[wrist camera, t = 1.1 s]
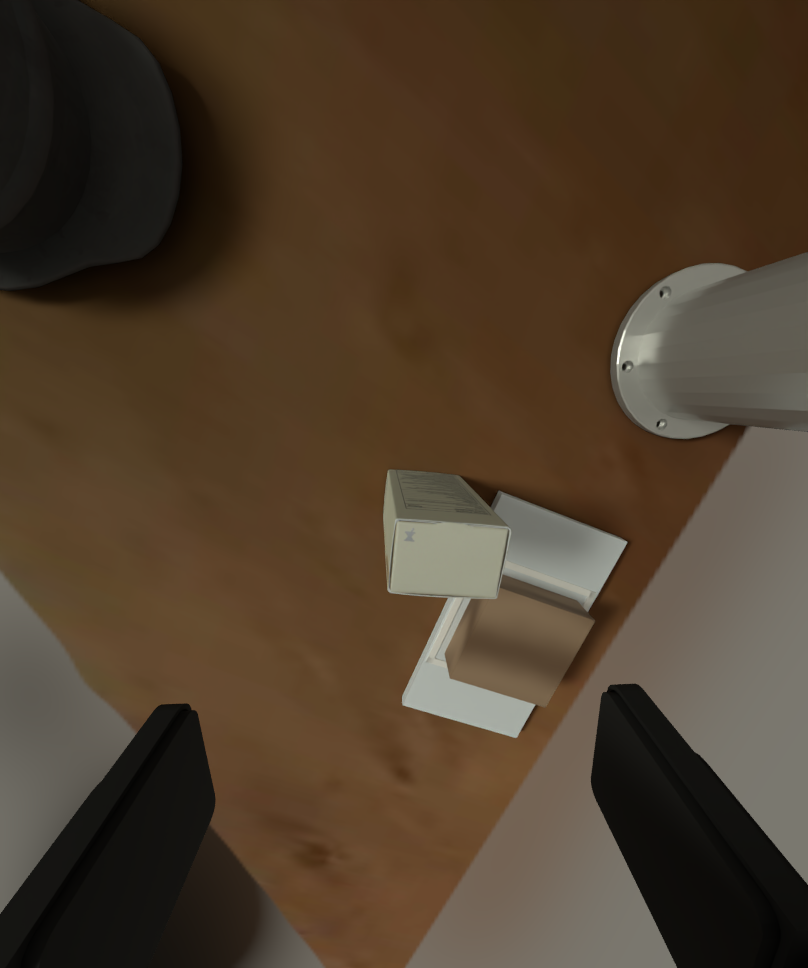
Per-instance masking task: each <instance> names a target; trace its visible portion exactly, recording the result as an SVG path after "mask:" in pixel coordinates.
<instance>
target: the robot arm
mask: <svg viewBox="0 0 808 968" xmlns="http://www.w3.org/2000/svg"><path fill="white" fill-rule="evenodd" d="M622 365H623V369H622ZM610 374H611V380H612V387H613V390H614V393H615V396H616V399H617V402H618V403H619V405H620V407H621V408H622V410H623V412H624V413H625V414H626V416H627V417H628V418H629V419H630V420H631V421H632V422H633V423H634V424H636V425H637V426H639V427H640V428H642V429H643V430H645V431H647V432H650V433H652V434H655V435H658V436H663V437H668V438H675V439H690V438H697V437H702V436H705V435H708V434H711V433H714V432H717V431H719V430H720V429H722V428H724V427H726V426H728V425H730V424H735V425H745V426H755V427H765V428H775V429H785V430H795V431H805V432H808V252H806V253H803V254H800V255H797V256H794V257H791V258H788V259H785V260H782V261H779V262H776V263H773V264H770V265H767V266H763V267H760V268H757V269H754V270H751V271H748V272H747V271H745V270H743V269H741V268H738V267H736V266H733V265H727V264H722V263H708V264H700V265H696V266H692V267H688V268H685V269H683V270H680V271H678V272H675V273H673V274H671V275H669V276H667V277H665V278H664V279H662V280H660V281H659V282H657V283H655V284H654V285H653V286H652V287H650V288H649V289H648V290H647V291H646V292H645V293H643V294H642V295H641V296H640V298H639V299H638V300H637V301H636V302H635V304H634V305H633V306H632V307H631V308H630V310H629V311H628V313H627V315H626V316H625V318H624V320H623V321H622V323H621V325H620V328H619V330H618V333H617V335H616V338H615V340H614V345H613V350H612V354H611V370H610ZM591 785H592V790H593V793H594V796H595V799H596V801H597V803H598V805H599V807H600V809H601V811H602V813H603V815H604V818H605V820H606V822H607V824H608V826H609V828H610V830H611V832H612V834H613V836H614V838H615V840H616V842H617V844H618V846H619V849H620V851H621V852H622V855H623V856H624V859H625V861H626V863H627V865H628V867H629V869H630V871H631V873H632V875H633V877H634V879H635V881H636V884H637V886H638V888H639V890H640V892H641V894H642V896H643V898H644V900H645V902H646V904H647V906H648V908H649V910H650V912H651V914H652V916H653V919H654V921H655V922H656V925H657V927H658V929H659V931H660V933H661V935H662V937H663V939H664V941H665V943H666V945H667V948H668V949H669V952H670V954H671V956H672V958H673V960H674V962H675V964H676V966H677V968H808V885H807V883H806V882H805V881H804V880H803V879H802V877H801V876H800V875H799V874H798V873H797V871H796V870H795V869H794V868H793V867H792V865H791V864H790V863H789V862H788V860H787V859H786V858H785V857H784V856H783V855H782V853H781V852H780V851H779V850H778V848H777V847H776V846H775V845H774V843H773V842H772V841H771V840H770V839H769V838H768V836H767V835H766V834H765V833H764V831H763V830H762V829H761V828H760V827H759V825H758V824H757V823H756V822H755V821H754V819H753V818H752V817H751V816H750V814H749V813H748V812H747V811H746V810H745V808H744V807H743V806H742V805H741V804H740V802H739V801H738V800H737V799H736V797H735V796H734V795H733V794H732V793H731V791H730V790H729V789H728V788H727V787H726V785H725V784H724V783H723V782H722V781H721V779H720V778H719V777H718V776H717V774H716V773H715V772H714V771H713V770H712V769H711V767H710V766H709V765H708V764H707V763H706V762H705V761H704V759H703V758H701V756H700V755H698V754H697V753H695V752H694V751H693V750H692V749H691V747H690V746H689V745H688V744H687V743H686V742H685V740H684V739H683V738H682V736H681V735H680V734H679V733H678V732H677V730H676V729H675V728H674V727H673V726H672V724H671V723H670V722H669V721H668V720H667V718H666V717H665V716H664V714H663V713H662V712H661V711H660V710H659V708H658V707H657V706H656V705H655V703H654V702H653V701H652V700H651V698H650V697H649V696H648V695H647V694H646V692H645V691H644V690H643V689H642V688H641V687H640V686H639V685H637V684H622V685H621V684H618V685H610V686H609V687H608V690H607V692H603V693H602V696H601V704H600V711H599V719H598V727H597V735H596V742H595V750H594V758H593V766H592V774H591ZM214 808H215V793H214V788H213V783H212V779H211V774H210V769H209V765H208V760H207V755H206V751H205V746H204V741H203V737H202V732H201V727H200V723H199V718H198V714H197V712H196V711H195V710H191V707H190V705H189V704H164V705H160V706H158V707H157V708H156V709H155V710H154V711H153V713H152V714H151V715H150V717H149V718H148V719H147V721H146V722H145V723H144V725H143V726H142V727H141V729H140V730H139V731H138V733H137V734H136V735H135V737H134V738H133V740H132V741H131V742H130V744H129V745H128V746H127V748H126V749H125V750H124V752H123V753H122V754H121V756H120V757H119V758H118V760H117V761H116V763H115V764H114V765H113V766H112V768H111V769H110V771H109V772H108V773H107V775H106V776H105V778H104V779H103V780H102V781H101V782H100V783H99V784H98V785H97V786H96V787H95V789H94V790H93V791H92V792H91V793H90V795H89V796H88V797H87V799H86V800H85V801H84V803H83V804H82V805H81V807H80V808H79V809H78V811H77V812H76V814H75V815H74V816H73V817H72V819H71V820H70V821H69V823H68V824H67V825H66V827H65V828H64V829H63V831H62V832H61V833H60V835H59V836H58V837H57V839H56V840H55V842H54V843H53V844H52V846H51V847H50V848H49V850H48V851H47V852H46V853H45V855H44V856H43V858H42V859H41V860H40V862H39V863H38V864H37V866H36V867H35V868H34V870H33V871H32V872H31V874H30V875H29V876H28V878H27V879H26V880H25V882H24V883H23V884H22V886H21V887H20V888H19V890H18V891H17V893H16V894H15V895H14V896H13V898H12V899H11V900H10V902H9V903H8V904H7V906H6V907H5V908H4V910H3V911H2V912H1V914H0V968H148V967H149V965H150V962H151V960H152V957H153V955H154V953H155V950H156V948H157V946H158V943H159V941H160V938H161V936H162V934H163V931H164V929H165V927H166V924H167V922H168V920H169V917H170V915H171V913H172V910H173V908H174V906H175V903H176V900H177V898H178V896H179V894H180V891H181V889H182V887H183V884H184V882H185V880H186V877H187V875H188V872H189V870H190V868H191V866H192V863H193V861H194V858H195V856H196V854H197V851H198V849H199V847H200V844H201V842H202V840H203V837H204V835H205V833H206V830H207V828H208V825H209V823H210V821H211V818H212V815H213V812H214Z"/></svg>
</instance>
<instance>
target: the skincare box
mask: <svg viewBox="0 0 808 968" xmlns="http://www.w3.org/2000/svg"><path fill="white" fill-rule="evenodd" d="M383 519H384V538H385V557H386V572H387V587H388V591H389V592H390V593H396V594H404V595H415V596H429V597H447V598H472V599H496V598H497V597H498V592H499V587H500V584H501V580H502V575H503V571H504V567H505V562H506V557H507V553H508V548H509V543H510V538H511V533H512V530H511V528H510V527H509V526H508V525H507V524H506V523H505V522H504V521H503V520H502V519H501V518H500V517H499V516H498V515H497V514H496V513H495V512H494V511H493V510H492V509H491V508H490V507H489V506H488V504H487V503H486V502H485V501H484V500H483V499H482V498H481V497H480V496H479V495H478V494H477V493H476V492H475V491H474V490H473V489H472V488H471V487H470V486H469V485H468V484H467V483H466V482H465V481H464V480H463V479H462V478H461V477H460V476H458V475H451V474H442V473H433V472H421V471H408V470H388V474H387V481H386V489H385V499H384V513H383Z"/></svg>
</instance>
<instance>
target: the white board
mask: <svg viewBox="0 0 808 968" xmlns="http://www.w3.org/2000/svg"><path fill="white" fill-rule="evenodd" d="M491 509H492V510H493V511H494V512H495V513H496V514H497V515H498V516H499V517H500V518H501V519H502V520H503V521H504V522H505V523H506V524H507V525H508V526H509V527H510V528H511V530H512V533H511V538H510V543H509V548H508V553H507V557H506V562H505V567H504V571H503V575H506V576H509V577H512V578H515V579H517V580H520V581H523V582H526V583H529V584H532V585H534V586H537V587H540V588H543V589H546V590H549V591H551V592H554V593H557V594H560V595H563V596H566V597H568V598H571V599H574V600H577V601H578V602H579V603H580V604H581V605H582V607H583V608H584V609H585V610H586V611H587V612H588V611H589V609H590V608H591V606H592V604H593V602H594V601H595V599H596V597H597V595H598V594H599V592H600V590H601V588H602V586H603V585H604V583H605V581H606V579H607V578H608V576H609V574H610V572H611V571H612V569H613V567H614V565H615V564H616V562H617V560H618V558H619V557H620V555H621V553H622V551H623V550H624V548H625V546H626V544H627V541H625V540H624V539H622V538H621V537H618V536H615V535H613V534H610V533H608V532H605V531H602V530H600V529H597V528H595V527H592V526H589V525H587V524H584V523H582V522H579V521H576V520H574V519H571V518H569V517H566V516H563V515H561V514H558V513H556V512H553V511H550V510H548V509H545V508H543V507H540V506H537V505H535V504H532V503H530V502H527V501H524V500H522V499H519V498H517V497H514V496H511V495H509V494H506V493H504V492H501V491H498V493H497V495H496V497H495V499H494V501H493V503H492V506H491ZM470 599H471V598H448V600H447V602H446V604H445V606H444V608H443V610H442V612H441V615H440V617H439V619H438V621H437V623H436V625H435V627H434V629H433V632H432V634H431V636H430V638H429V640H428V642H427V644H426V647H425V649H424V651H423V653H422V655H421V657H420V659H419V662H418V664H417V666H416V668H415V670H414V672H413V674H412V676H411V679H410V681H409V683H408V685H407V687H406V689H405V691H404V694H403V696H402V705H404V706H407V707H411V708H414V709H418V710H421V711H425V712H428V713H431V714H435V715H438V716H442V717H445V718H449V719H452V720H456V721H459V722H463V723H466V724H470V725H473V726H476V727H480V728H483V729H487V730H490V731H494V732H497V733H501V734H504V735H508V736H511V737H514V738H517V736H518V734H519V733H520V731H521V729H522V727H523V726H524V724H525V722H526V720H527V719H528V717H529V715H530V713H531V711H532V710H533V708H534V706H535V704H532V703H529V702H525V701H522V700H519V699H516V698H512V697H509V696H506V695H502V694H499V693H496V692H493V691H489V690H486V689H483V688H479V687H476V686H473V685H470V684H466V683H463V682H460V681H457V680H453V679H450V677H449V673H448V668H447V663H446V659H445V654H444V653H445V651H446V649H447V647H448V645H449V643H450V641H451V639H452V637H453V635H454V633H455V630H456V628H457V626H458V624H459V622H460V620H461V618H462V616H463V614H464V612H465V610H466V608H467V606H468V604H469V602H470Z"/></svg>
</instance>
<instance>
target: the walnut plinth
mask: <svg viewBox="0 0 808 968" xmlns="http://www.w3.org/2000/svg"><path fill="white" fill-rule="evenodd" d="M594 622H595V620H594V619H593V618H592V617H591V615H590V614H589V613H588V612H587V611H586V610H585V609H584V608H583V607H582V605H581V604H580V603H579V602H578V601H577V600H574V599H571V598H568V597H566V596H563V595H560V594H557V593H554V592H551V591H549V590H546V589H543V588H540V587H537V586H534V585H532V584H529V583H526V582H523V581H520V580H517V579H515V578H512V577H509V576H506V575H502V580H501V584H500V587H499V592H498V597H497V598H496V599H472V598H471V599H470V602H469V604H468V606H467V608H466V610H465V612H464V614H463V616H462V618H461V620H460V622H459V624H458V626H457V628H456V630H455V633H454V635H453V637H452V639H451V641H450V643H449V645H448V647H447V649H446V651H445V653H444V654H445V659H446V663H447V668H448V673H449V677H450V679H453V680H457V681H460V682H463V683H466V684H470V685H473V686H476V687H479V688H483V689H486V690H489V691H493V692H496V693H499V694H502V695H506V696H509V697H512V698H516V699H519V700H522V701H525V702H529V703H532V704H535V705H539V706H542V707H546V706H547V704H548V702H549V701H550V699H551V697H552V695H553V694H554V692H555V690H556V688H557V687H558V685H559V683H560V681H561V680H562V678H563V676H564V674H565V673H566V671H567V669H568V668H569V666H570V664H571V662H572V661H573V659H574V657H575V655H576V654H577V652H578V650H579V648H580V647H581V645H582V643H583V642H584V640H585V638H586V636H587V635H588V633H589V631H590V629H591V628H592V626H593V624H594Z"/></svg>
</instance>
